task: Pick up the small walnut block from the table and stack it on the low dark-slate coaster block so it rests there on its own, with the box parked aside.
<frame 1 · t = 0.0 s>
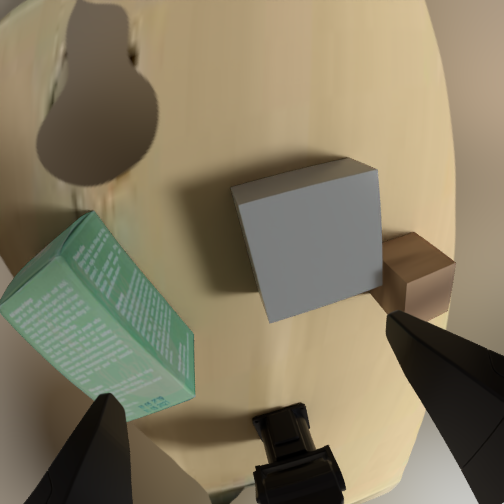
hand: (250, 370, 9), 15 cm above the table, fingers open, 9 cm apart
box: (112, 293, 24), on the table
block: (392, 262, 27), on the table
base: (303, 227, 24), on the table
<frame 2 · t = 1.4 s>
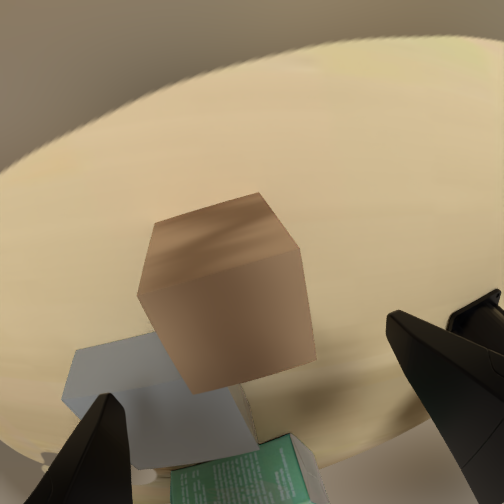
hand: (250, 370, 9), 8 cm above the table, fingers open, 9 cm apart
box: (240, 463, 27), on the table
block: (220, 253, 15), on the table
base: (167, 383, 19), on the table
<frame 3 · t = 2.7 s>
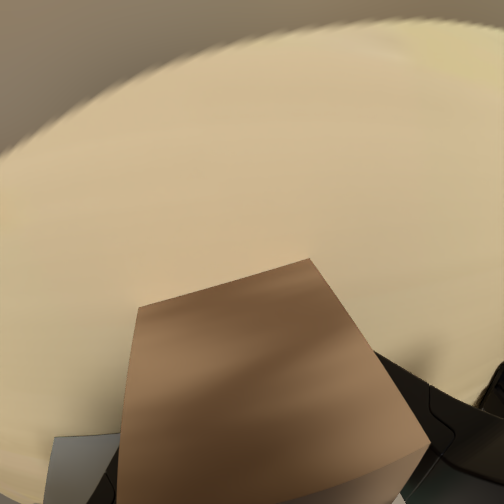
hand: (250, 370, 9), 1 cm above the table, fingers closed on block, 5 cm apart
block: (244, 346, 10), on the table, touching gripper
base: (171, 470, 13), on the table
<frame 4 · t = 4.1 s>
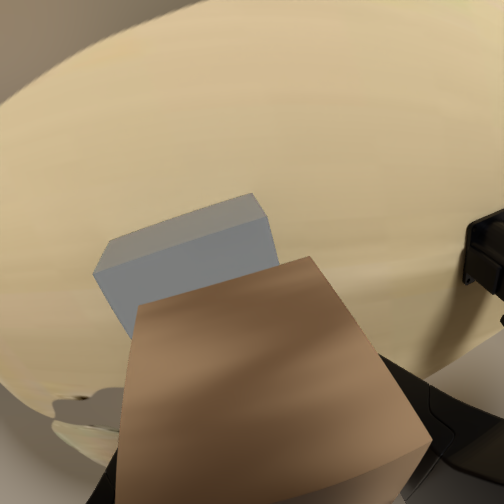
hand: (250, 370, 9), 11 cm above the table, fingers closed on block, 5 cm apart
block: (244, 345, 10), point 10 cm above the table, touching gripper
base: (202, 279, 20), on the table
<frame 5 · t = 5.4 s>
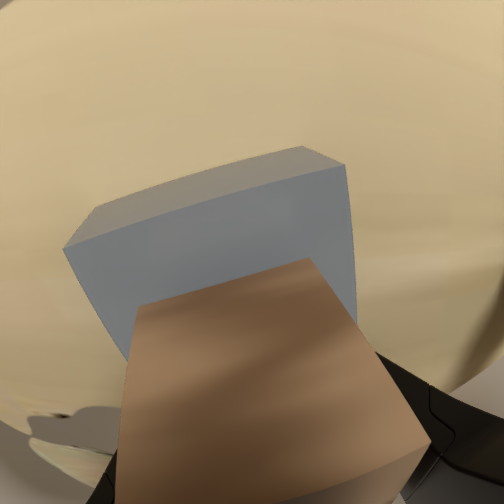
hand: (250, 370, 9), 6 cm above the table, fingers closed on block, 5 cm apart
block: (243, 345, 10), point 5 cm above the table, touching gripper
base: (224, 267, 14), on the table
when the fingers open (6 cm above the table, at t = 5.9 s): block stays where it is, resting on base.
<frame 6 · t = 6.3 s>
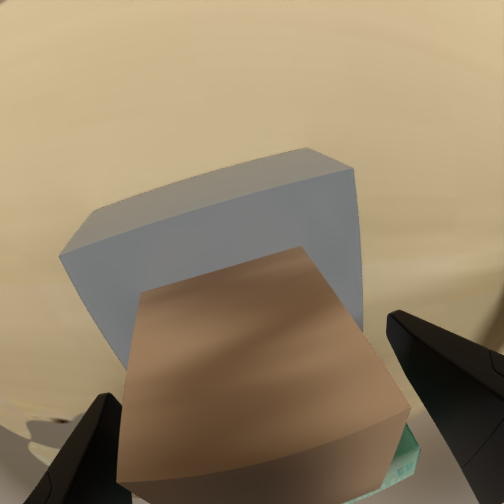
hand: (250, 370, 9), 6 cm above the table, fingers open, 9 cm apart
box: (293, 421, 21), on the table
block: (240, 331, 10), point 4 cm above the table, touching base
base: (226, 273, 14), on the table
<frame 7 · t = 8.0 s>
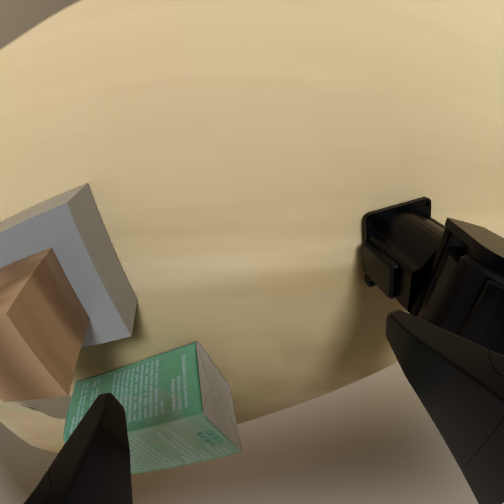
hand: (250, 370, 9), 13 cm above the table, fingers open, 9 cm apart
box: (148, 385, 26), on the table
block: (39, 294, 16), point 4 cm above the table, touching base
base: (59, 263, 19), on the table
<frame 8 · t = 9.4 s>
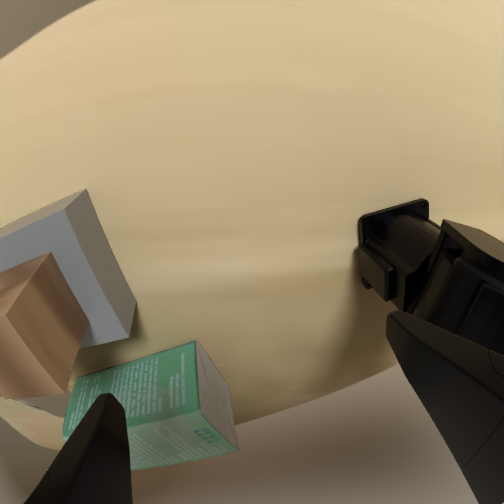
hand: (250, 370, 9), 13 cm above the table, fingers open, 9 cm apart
box: (148, 383, 27), on the table
block: (40, 297, 16), point 4 cm above the table, touching base
base: (60, 267, 20), on the table
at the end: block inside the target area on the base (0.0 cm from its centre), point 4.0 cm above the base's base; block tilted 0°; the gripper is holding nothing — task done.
